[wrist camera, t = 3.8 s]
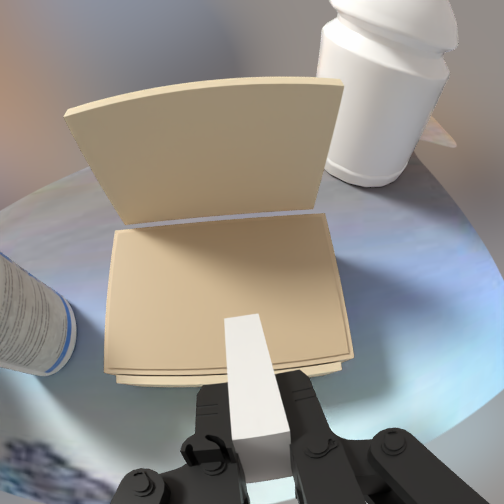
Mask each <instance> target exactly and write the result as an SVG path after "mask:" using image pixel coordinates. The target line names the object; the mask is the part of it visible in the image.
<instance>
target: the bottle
mask: <svg viewBox="0 0 504 504" xmlns="http://www.w3.org/2000/svg"><path fill="white" fill-rule="evenodd" d="M329 2H330V3H331V5H332V6H333V7H334V8H335V10H336V11H337V12H338V17H336V18H335V19H333V20H332V21H330V22H328V23H327V24H326V25H325V26H324V27H323V28H322V33H321V45H320V53H319V61H318V68H317V75H316V77H317V78H334V79H341V81H342V83H343V84H344V90H343V95H342V99H341V103H340V108H339V112H338V116H337V120H336V124H335V128H334V132H333V136H332V140H331V144H330V148H329V152H328V156H327V160H326V164H325V167H324V169H325V170H326V171H327V172H328V173H329V174H331V175H333V176H335V177H337V178H339V179H341V180H343V181H345V182H347V183H350V184H355V185H359V186H363V187H382V186H384V185H387V184H389V183H391V182H393V181H395V180H396V179H397V178H398V177H399V175H400V174H401V173H402V172H403V170H404V169H405V168H406V166H407V165H408V160H409V158H410V156H411V154H412V153H413V151H414V149H415V147H416V145H417V143H418V141H419V139H420V137H421V135H422V133H423V131H424V129H425V127H426V125H427V123H428V121H429V119H430V116H431V114H432V112H433V110H434V108H435V106H436V104H437V101H438V99H439V97H440V95H441V93H442V91H443V88H444V86H445V84H446V82H447V81H448V79H449V75H450V72H449V70H448V67H447V64H446V63H445V61H444V58H443V55H444V53H445V52H448V51H452V50H454V49H455V48H457V47H458V44H459V43H458V29H457V23H456V19H455V15H454V13H453V10H452V7H451V5H450V3H449V1H448V0H329Z"/></svg>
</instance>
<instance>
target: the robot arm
mask: <svg viewBox="0 0 504 504" xmlns="http://www.w3.org/2000/svg"><path fill="white" fill-rule="evenodd" d="M224 325H225V344H226V361H227V377H228V382H225V383H217V384H208V385H203V386H202V388H201V389H200V391H199V393H198V394H197V403H196V407H197V408H196V425H195V434H194V435H192V436H191V437H189V438H188V439H187V440H186V441H185V442H184V443H183V444H182V447H181V450H180V452H181V454H182V456H183V457H184V459H185V461H186V463H187V464H185V465H184V466H182V467H180V468H178V469H175V470H172V471H168V472H165V473H161V474H158V473H157V472H155V471H153V470H151V469H143V468H140V469H136V470H133V471H131V472H129V473H128V474H126V475H125V477H124V478H123V479H122V481H121V483H120V485H119V487H118V489H117V491H116V493H115V495H114V497H113V499H112V501H111V503H110V504H250V499H249V496H248V493H247V487H246V483H254V482H261V481H268V480H274V479H280V478H285V477H290V476H293V478H294V482H295V495H296V499H298V503H299V504H366V502H367V503H368V504H489V503H488V502H487V501H486V500H485V499H484V498H482V497H481V496H480V495H479V494H478V493H477V492H475V491H474V490H473V489H472V488H471V487H470V486H469V485H467V484H466V483H465V482H464V481H463V480H462V479H461V478H459V477H458V476H457V475H456V474H455V473H454V472H453V471H451V470H450V469H449V468H448V467H447V466H446V465H445V464H444V463H442V462H441V461H440V460H439V459H438V458H437V457H436V456H435V455H434V454H433V453H431V452H430V451H429V450H428V449H427V448H426V447H425V446H424V445H423V444H422V443H420V442H419V441H418V440H417V439H416V438H415V437H414V436H413V435H412V434H411V433H409V432H407V431H406V430H404V429H400V428H387V429H385V430H382V431H380V432H379V433H378V434H376V435H375V436H374V437H373V439H370V440H347V439H344V438H341V437H339V436H337V435H336V434H334V433H333V432H332V431H331V429H330V427H329V425H328V423H327V420H326V418H325V415H324V413H323V411H322V408H321V406H320V403H319V401H318V398H317V397H316V393H315V391H314V389H313V386H312V384H311V381H310V379H309V377H308V376H307V375H306V374H305V373H303V372H302V371H301V370H300V369H299V370H294V371H288V372H283V373H278V374H274V370H273V366H272V363H271V359H270V355H269V351H268V348H267V344H266V340H265V336H264V333H263V329H262V325H261V321H260V318H259V314H258V313H257V314H251V315H245V316H238V317H231V318H224ZM365 501H366V502H365Z"/></svg>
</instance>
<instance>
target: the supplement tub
mask: <svg viewBox="0 0 504 504" xmlns="http://www.w3.org/2000/svg"><path fill="white" fill-rule="evenodd" d="M75 342H76V321H75V316H74V313H73V310H72V308H71V306H70V304H69V303H68V302H67V300H66V299H65V298H64V297H63V296H62V295H60V294H59V293H57V292H56V291H55V290H53V289H52V288H50V287H49V286H47V285H46V284H44V283H43V282H41V281H40V280H38V279H37V278H35V277H34V276H33V275H31V274H30V273H28V272H27V271H26V270H24V269H23V268H21V267H20V266H19V265H17V264H16V263H15V262H13V261H12V260H11V259H9V258H8V257H7V256H5V255H4V254H3V253H2V252H0V367H2V368H6V369H10V370H14V371H19V372H23V373H27V374H32V375H37V376H49V375H52V374H54V373H56V372H58V371H59V370H60V369H61V368H62V367H63V366H64V365H65V364H66V363H67V362H68V360H69V359H70V357H71V355H72V352H73V350H74V346H75Z"/></svg>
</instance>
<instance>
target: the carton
mask: <svg viewBox="0 0 504 504" xmlns="http://www.w3.org/2000/svg"><path fill="white" fill-rule="evenodd" d="M257 313H258V314H259V318H260V321H261V325H262V329H263V333H264V336H265V340H266V344H267V348H268V351H269V355H270V359H271V363H272V366H273V370H274V374H278V373H283V372H288V371H294V370H299V369H300V370H301V371H302V372H303V373H305V374H306V375H307V376H308V377H309V378H311V377H317V376H324V375H327V374H330V373H334V372H337V371H340V370H342V367H341V363H343V362H345V361H348V360H350V359H352V358H354V353H353V347H352V340H351V334H350V329H349V323H348V317H347V312H346V306H345V301H344V296H343V291H342V286H341V281H340V276H339V272H338V267H337V262H336V258H335V253H334V249H333V245H332V240H331V236H330V232H329V228H328V224H327V220H326V216H325V213H321V214H304V215H287V216H272V217H258V218H245V219H232V220H219V221H208V222H196V223H185V224H175V225H165V226H155V227H145V228H136V229H126V230H118V231H115V236H114V242H113V249H112V257H111V264H110V273H109V282H108V293H107V304H106V319H105V339H104V373H107V374H111V375H116V383H120V384H127V385H134V386H141V387H202V386H203V385H208V384H217V383H225V382H228V377H227V361H226V344H225V325H224V318H231V317H238V316H245V315H251V314H257Z"/></svg>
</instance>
